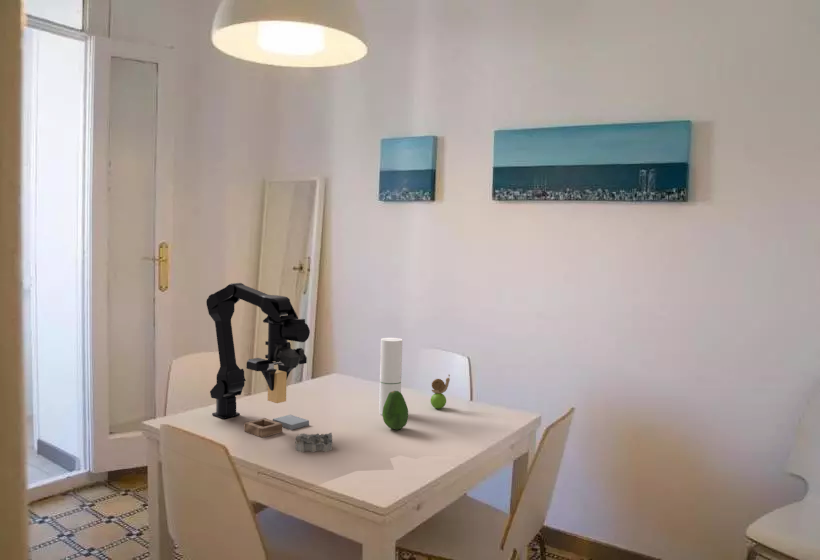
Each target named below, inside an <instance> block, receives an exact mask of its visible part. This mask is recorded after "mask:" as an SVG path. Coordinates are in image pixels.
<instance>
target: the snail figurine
mask: <svg viewBox="0 0 820 560" xmlns="http://www.w3.org/2000/svg"><path fill="white" fill-rule="evenodd" d="M450 376H451V375H450V374H448V377H446V378H445V381H444V380H442V379H441V378H435V379H434V380H432V382H431V388H432V389H431V392H432V393H434V394H432V396H431V398H430V404H431V406H432V407H433V408H435V409H438V410H441V409H443V408H444V407H446V404H447V397H446V396H445V394H443V393H445V392H447V390H448V387H449V384H450V380H451V378H450Z"/></svg>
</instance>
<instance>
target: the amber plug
mask: <svg viewBox="0 0 820 560" xmlns="http://www.w3.org/2000/svg"><path fill="white" fill-rule="evenodd" d="M286 380H287V381H288V378H287V372H284V371H280V370H278V369H277V371H276V372H275V374H274V390H273V391H272V390H270V388H269V386H268V385H267V401H268V402H271V403H274V404H281V403H284V402H287V381H286Z"/></svg>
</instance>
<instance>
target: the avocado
mask: <svg viewBox="0 0 820 560" xmlns="http://www.w3.org/2000/svg"><path fill="white" fill-rule="evenodd" d="M381 416H382V420H383V422H384V424H385V425H386V426H387V427H388V428H389V429H392V430H397V431H398V430H401V429H403V428H404V427H405V426H406V425H407V423H408V419H409V409H408V406H407V402H406V400H405V398H404V396H403V394H402V392H401V393H400V392H399V391H392V392H390V393H389V395H388V397H387V399H386V402H385V404H384V407H383V413H382V415H381Z"/></svg>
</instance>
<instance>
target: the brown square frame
mask: <svg viewBox="0 0 820 560" xmlns="http://www.w3.org/2000/svg"><path fill="white" fill-rule="evenodd" d="M282 425H283V424H282V423H279V422H276V421H273V419H269V418H266V417H263V418H259V419H256V420H255V419H254V420H251V421H247V422H244V425H243V426H244V427H243V428H244V432H246V433H249V434H252V435H254V436H257V437H259V438H265V437H269V436H273V435H276V434H279V433H283V427H282Z"/></svg>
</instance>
